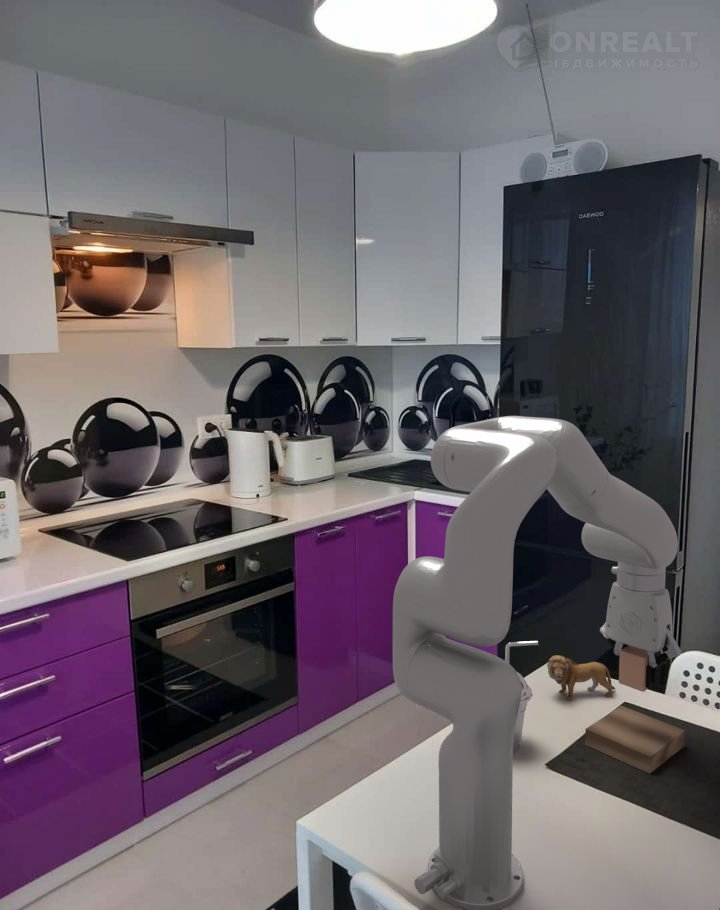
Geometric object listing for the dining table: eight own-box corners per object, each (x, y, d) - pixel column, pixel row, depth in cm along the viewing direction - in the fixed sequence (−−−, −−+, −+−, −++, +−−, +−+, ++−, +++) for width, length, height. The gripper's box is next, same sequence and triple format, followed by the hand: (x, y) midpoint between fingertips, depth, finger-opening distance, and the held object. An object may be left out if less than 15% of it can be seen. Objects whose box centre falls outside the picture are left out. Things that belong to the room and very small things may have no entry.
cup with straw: (500, 727, 137) (501, 624, 134) (543, 745, 130) (545, 637, 127) (472, 745, 131) (473, 638, 128) (516, 765, 124) (518, 653, 121)
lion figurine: (554, 706, 144) (554, 662, 143) (541, 693, 149) (542, 651, 148) (621, 696, 147) (623, 654, 146) (607, 684, 152) (608, 643, 151)
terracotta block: (643, 692, 125) (644, 658, 124) (618, 683, 128) (619, 650, 127) (656, 683, 128) (657, 650, 127) (632, 674, 131) (633, 642, 130)
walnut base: (649, 773, 121) (650, 756, 121) (585, 744, 130) (585, 728, 130) (684, 746, 129) (685, 730, 129) (621, 720, 138) (621, 705, 138)
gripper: (584, 573, 129) (582, 671, 132) (679, 597, 116) (674, 705, 119) (607, 563, 134) (605, 658, 137) (701, 585, 121) (696, 690, 124)
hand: (637, 679), depth 128 cm, fingers closed on terracotta block, 4 cm apart
